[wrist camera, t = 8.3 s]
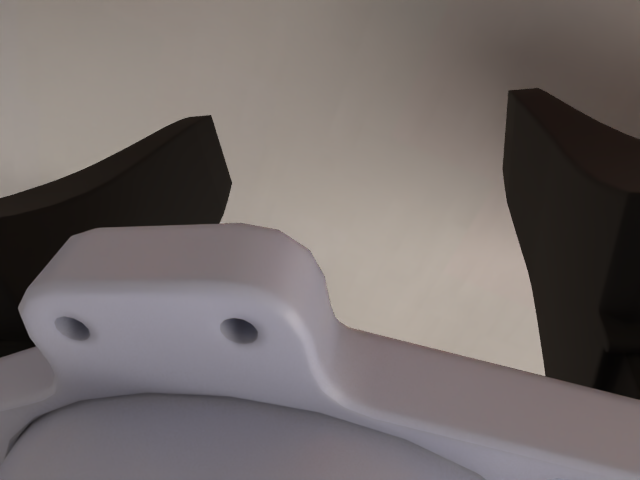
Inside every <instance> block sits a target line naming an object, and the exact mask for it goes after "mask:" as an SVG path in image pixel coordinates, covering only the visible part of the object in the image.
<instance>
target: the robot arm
mask: <svg viewBox="0 0 640 480" xmlns="http://www.w3.org/2000/svg"><path fill="white" fill-rule="evenodd" d="M503 176H504V184H505V191H506V198H507V203H508V207H509V210H510V214H511V217H512V221H513V224H514V227H515V231H516V234H517V237H518V240H519V244H520V247H521V250H522V253H523V257H524V260H525V263H526V266H527V270H528V273H529V278H530V282H531V286H532V291H533V297H534V303H535V309H536V315H537V321H538V327H539V334H540V340H541V347H542V354H543V360H544V368H545V375H546V376H542V375H538V374H534V373H530V372H526V371H522V370H518V369H514V368H510V367H506V366H502V365H498V364H494V363H490V362H486V361H482V360H478V359H474V358H470V357H466V356H462V355H458V354H453V353H449V352H445V351H441V350H437V349H433V348H429V347H425V346H421V345H417V344H413V343H409V342H405V341H401V340H397V339H393V338H389V337H385V336H381V335H377V334H373V333H369V332H365V331H361V330H357V329H353V328H349V327H347V326H346V325H344V324H342V323H341V322H339V321H338V320H337V318H336V317H335V315H334V312H333V310H332V307H331V304H330V299H329V294H328V290H327V285H326V280H325V276H324V274H323V273H322V271H321V269H320V267H319V265H318V264H317V262H316V260H315V258H314V257H313V255H312V253H311V251H310V250H309V249H307V248H306V247H304V246H303V245H301V244H300V243H298V242H297V241H295V240H294V239H292V238H290V237H289V236H287V235H286V234H284V233H283V232H281V231H280V230H277V229H271V228H266V227H260V226H255V225H249V224H244V223H226V224H219V223H220V221H221V218H222V216H223V214H224V211H225V208H226V204H227V201H228V197H229V193H230V189H231V185H232V181H231V178H230V175H229V172H228V168H227V165H226V162H225V159H224V155H223V152H222V149H221V146H220V142H219V139H218V136H217V133H216V129H215V126H214V123H213V120H212V117H211V115H208V116H196V117H188V118H185V119H182V120H179V121H177V122H175V123H172V124H170V125H168V126H166V127H164V128H162V129H161V130H159V131H157V132H155V133H153V134H151V135H149V136H148V137H146V138H144V139H142V140H140V141H138V142H137V143H135V144H133V145H131V146H129V147H127V148H125V149H123V150H122V151H120V152H118V153H116V154H114V155H112V156H110V157H108V158H106V159H104V160H102V161H100V162H98V163H96V164H94V165H92V166H90V167H87V168H85V169H83V170H81V171H78V172H76V173H73V174H71V175H68V176H66V177H63V178H61V179H58V180H56V181H53V182H50V183H47V184H44V185H41V186H38V187H35V188H32V189H29V190H26V191H23V192H20V193H17V194H14V195H10V196H7V197H3V198H0V480H640V139H637V138H634V137H632V136H629V135H627V134H624V133H622V132H620V131H618V130H615V129H613V128H611V127H609V126H607V125H605V124H603V123H600V122H599V121H597V120H595V119H593V118H591V117H589V116H587V115H585V114H583V113H582V112H580V111H578V110H576V109H575V108H573V107H571V106H569V105H568V104H566V103H564V102H563V101H561V100H559V99H558V98H556V97H554V96H553V95H551V94H549V93H547V92H545V91H543V90H541V89H539V88H533V89H521V90H509V91H508V104H507V118H506V131H505V144H504V158H503Z"/></svg>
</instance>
